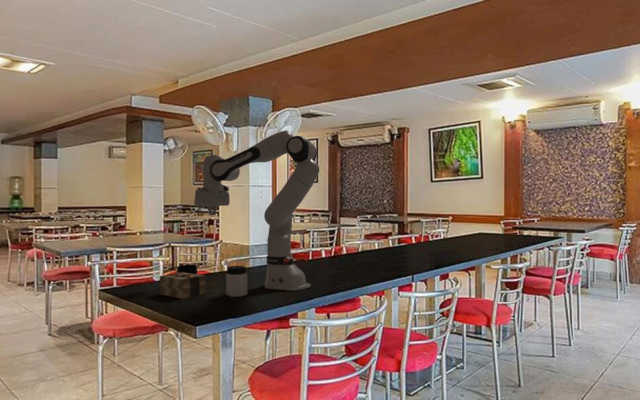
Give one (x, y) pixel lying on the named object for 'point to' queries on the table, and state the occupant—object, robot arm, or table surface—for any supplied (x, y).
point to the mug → (187, 269)
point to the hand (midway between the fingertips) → (212, 215)
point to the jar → (236, 281)
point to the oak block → (183, 285)
